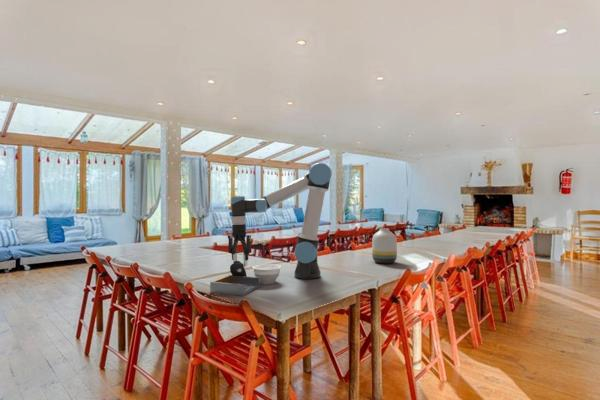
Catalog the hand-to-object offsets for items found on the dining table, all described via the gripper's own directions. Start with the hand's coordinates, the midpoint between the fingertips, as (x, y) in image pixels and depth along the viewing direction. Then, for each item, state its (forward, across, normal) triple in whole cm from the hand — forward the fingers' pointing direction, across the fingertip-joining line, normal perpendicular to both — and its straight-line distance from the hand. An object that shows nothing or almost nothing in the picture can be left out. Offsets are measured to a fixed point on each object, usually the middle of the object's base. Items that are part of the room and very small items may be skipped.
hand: (240, 265), depth 191 cm
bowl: (+9, -15, -2) cm, 18 cm away
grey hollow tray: (+8, -7, +17) cm, 21 cm away
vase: (+12, -68, -82) cm, 107 cm away
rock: (+3, +1, 0) cm, 3 cm away
